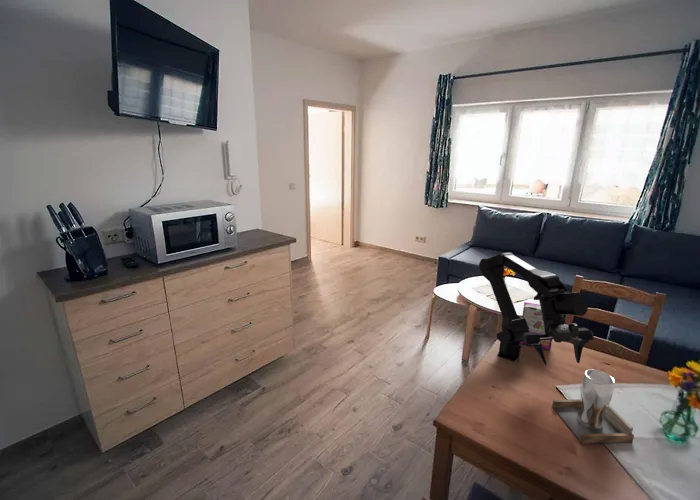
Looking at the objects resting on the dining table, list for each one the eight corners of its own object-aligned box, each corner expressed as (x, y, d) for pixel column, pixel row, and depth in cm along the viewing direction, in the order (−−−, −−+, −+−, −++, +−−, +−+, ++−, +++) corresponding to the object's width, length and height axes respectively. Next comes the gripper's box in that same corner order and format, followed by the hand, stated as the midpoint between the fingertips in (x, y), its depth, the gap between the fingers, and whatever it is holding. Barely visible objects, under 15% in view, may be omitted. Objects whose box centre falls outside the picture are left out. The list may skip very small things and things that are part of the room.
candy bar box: (550, 344, 134) (556, 306, 129) (550, 350, 129) (557, 312, 125) (518, 337, 139) (524, 301, 134) (518, 343, 134) (523, 306, 130)
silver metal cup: (585, 409, 100) (596, 366, 95) (610, 427, 93) (622, 381, 89) (568, 415, 97) (578, 371, 93) (592, 434, 91) (603, 387, 87)
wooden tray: (581, 443, 89) (584, 431, 88) (552, 406, 102) (554, 395, 100) (632, 442, 89) (635, 430, 88) (596, 405, 102) (598, 394, 101)
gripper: (525, 320, 102) (535, 373, 100) (596, 314, 97) (607, 369, 95) (518, 315, 112) (526, 363, 111) (581, 309, 107) (591, 359, 106)
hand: (561, 363), depth 106 cm, fingers open, 9 cm apart
